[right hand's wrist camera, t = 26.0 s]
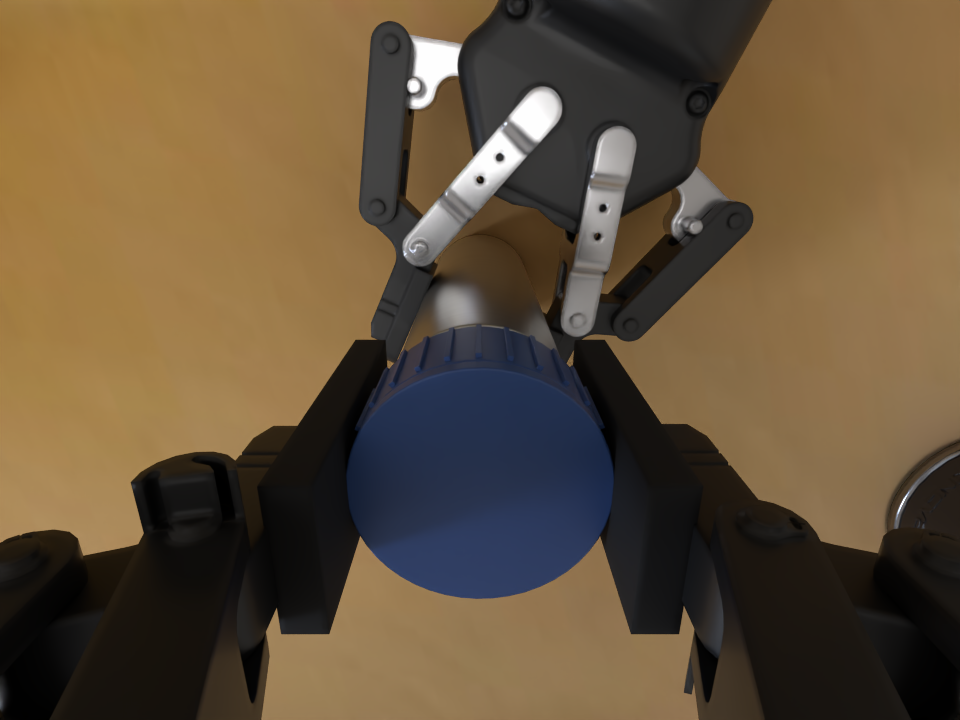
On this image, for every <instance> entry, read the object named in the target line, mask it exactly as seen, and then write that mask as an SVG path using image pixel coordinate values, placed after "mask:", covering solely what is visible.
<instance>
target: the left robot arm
mask: <svg viewBox="0 0 960 720" xmlns="http://www.w3.org/2000/svg"><path fill="white" fill-rule="evenodd" d="M771 1H772V0H498V3H497V5H496V7H495V8H494V10H493V11H492V13H491V14H490V16H489V17H488V18H487V19H486V20H485V21H484V22H483V23H482V24H481V25H480V26H479V27H478V28H476V29H475V30H474V31H473V32H472V33H470V35H469V36H468V37H467V38H466V40H465V41H464V43H463V44H460V43H454V42H448V41H442V40H436V39H430V38H425V37H419V36H413V35H410V34H408V32H407V31H406V29H405V28H404V27H403V26H402V25H400V24H398V23H396V22H393V21H387V22H383V23H381V24H380V25H378V26H377V27H376V28H375V30H374V31H373V33H372V37H371V44H370V58H369V72H368V86H367V100H366V114H365V128H364V142H363V156H362V170H361V184H360V198H359V210H360V213H361V216H362V217H363V219H364V220H365V221H366V222H368V223H369V224H371V225H374V226H376V227H377V228H378V229H379V230H380V231H381V232H382V233H383V234H384V235H386V236H387V237H388V238H389V239H390V240H391V242H392V243H393V245H394V247H395V250H396V263H395V266H394V268H393V271H392V273H391V275H390V278H389V280H388V283H387V285H386V288H385V290H384V293H383V295H382V298H381V300H380V302H379V305H378V307H377V310H376V312H375V315H374V317H373V320H372V322H371V337H373V338H375V339H377V340H386V353H387V360H388V361H391V362H393V363H395V362H396V361H397V359H398V357H399V354H400V352H401V350H402V347H403V345H404V343H405V341H406V338H407V336H408V334H409V331H410V329H411V327H412V325H413V322H414V320H415V318H416V315H417V313H418V311H419V308H420V306H421V303H422V301H423V299H424V296H425V295H426V292H427V290H428V288H429V286H430V283H431V281H432V279H433V276H434V274H435V271H436V269H437V266H438V264H436V263H434V261H435V259H436V257H437V256H438V255H439V254H440V253H441V252H442V251H443V249H444V248H445V247H446V246H447V245H448V244H449V243H450V242H451V240H452V239H453V238H454V237H455V236H456V235H457V234H458V232H459V231H460V230H461V229H462V228H463V227H464V226H465V225H466V224H467V223H468V222H469V221H470V220H471V219H472V218H473V217H474V216H475V215H476V213H477V212H478V211H479V210H480V209H481V208H482V207H483V206H484V204H485V203H486V202H487V201H488V200H489V199H490V198H491V196H492V195H495V196H497V197H499V198H501V199H503V200H505V201H507V202H509V203H511V204H514V205H520V206H526V207H531V208H536V209H538V210H539V211H540V212H541V213H542V214H544V215H545V216H546V217H547V218H548V219H549V220H550V221H552V222H553V223H554V224H555V225H557V226H559V227H561V228H563V232H562V238H561V243H560V261H559V267H558V273H557V279H556V284H555V290H554V296H553V302H552V305H551V307H550V309H549V311H548V313H547V314H545V313H543V315H544V317H545V320H546V322H547V325H548V327H549V330H550V333H551V335H552V338H553V340H554V343H555V345H556V348H557V350H558V353H559V355H560V358H561V359H563V360H564V361H565V362H566V363H567V361H568V359H569V358H570V356H571V354H572V352H573V350H574V343H575V340H582V339H583V338H584V337H586V336H589V335H593V334H601V335H614V336H617V337H618V338H619V339H621V340H623V341H628V342H629V341H635V340H637V339H639V338H640V337H642V336H643V335H644V334H645V333H646V332H647V331H648V330H649V329H650V328H651V327H652V326H653V325H654V324H655V323H656V322H657V321H658V320H659V319H660V318H661V317H662V316H663V315H664V314H665V313H666V312H667V311H668V310H669V309H670V308H671V307H672V306H673V305H674V304H675V303H676V302H677V301H678V300H679V299H680V298H681V297H682V296H683V295H684V294H685V293H686V292H687V291H688V290H689V289H690V288H691V287H692V286H693V285H694V284H695V283H696V282H697V281H698V280H700V279H701V278H702V277H703V276H704V275H705V274H706V273H707V272H708V271H709V270H710V269H711V268H712V267H713V266H714V265H715V264H716V263H717V262H718V261H719V260H720V259H721V258H722V257H723V256H724V255H725V254H726V253H727V252H728V251H729V250H730V249H731V248H732V247H733V246H734V245H735V244H736V243H737V242H738V241H739V240H740V239H741V238H742V237H743V236H744V235H745V234H746V233H747V232H748V231H749V230H750V228H751V226H752V223H753V213H752V210H751V209H750V207H749V206H747V205H746V204H744V203H741V202H736V201H734V200H730V199H728V198H727V197H726V196H725V195H724V194H723V193H722V192H721V191H720V190H719V189H718V188H717V187H716V186H715V185H714V184H713V183H712V182H711V181H710V180H709V179H708V178H707V177H706V176H705V175H704V174H703V172H702V171H701V170H700V169H699V168H698V167H697V164H698V161H699V157H700V147H701V135H702V130H703V126H704V123H705V120H706V118H707V116H708V114H709V112H710V110H711V109H712V107H713V105H714V104H715V102H716V100H717V99H718V97H719V95H720V94H721V92H722V90H723V88H724V87H725V85H726V83H727V81H728V79H729V77H730V76H731V74H732V72H733V70H734V68H735V67H736V65H737V63H738V61H739V59H740V57H741V56H742V54H743V52H744V50H745V48H746V47H747V45H748V43H749V41H750V39H751V37H752V36H753V34H754V32H755V30H756V28H757V27H758V25H759V23H760V21H761V19H762V18H763V16H764V14H765V12H766V10H767V9H768V7H769V5H770V3H771ZM454 79H457V80H459V82H460V88H461V93H462V98H463V103H464V109H465V114H466V119H467V125H468V130H469V135H470V140H471V146H472V151H473V156H474V157H473V159H472V160H471V161H470V162H469V163H468V164H467V166H466V167H465V168H464V169H463V170H462V171H461V173H460V174H459V175H458V176H457V177H456V179H455V180H454V181H453V182H452V183H451V184H450V186H449V187H448V188H447V189H446V190H445V191H444V193H443V194H442V195H441V196H440V197H439V199H438V200H437V201H436V202H435V203H434V205H433V206H432V207H431V208H430V209H429V210H428V212H427V213H426V214H425V215H424V216H423V215H422V214H421V213H420V212H419V211H418V210H417V209H416V208H415V207H414V206H413V205H412V204H411V203H410V202H409V201H408V200H407V199H406V189H407V179H408V169H409V159H410V149H411V139H412V129H413V119H414V111H425V110H428V109H429V108H431V107H432V106H433V105H434V103H435V101H436V99H437V95H438V92H439V89H440V88H441V86H442V85H443V84H444V83H446V82H447V81H450V80H454ZM478 176H479V177H480V179H481V180H479V179H478V178H477V177H478ZM669 191H671V193H672V204H671V207H670V209H669V210H668V212H667V213H666V214H665V216H664V219H663V228H664V231H665V233H666V234H665V236H664V237H663V238H662V239H661V240H660V241H659V242H658V243H657V244H656V245H655V246H654V247H653V248H652V249H651V250H650V251H649V252H648V253H647V254H646V255H645V256H644V257H643V258H642V259H641V260H640V261H639V262H638V263H637V265H636V266H635V267H634V268H633V269H632V270H631V271H630V272H629V273H628V274H627V275H626V276H625V277H624V278H623V279H622V280H621V281H620V282H619V283H618V284H617V285H616V286H615V287H614V288H613V289H612V290H611V291H610V292H609V294H600V293H601V288H602V283H603V279H604V276H605V274H606V273H607V272H608V270H609V267H610V263H611V258H612V253H613V249H614V244H615V239H616V234H617V229H618V224H619V220H620V218H622V217H623V216H625V215H627V214H629V213H631V212H632V211H634V210H636V209H638V208H640V207H642V206H643V205H645V204H647V203H649V202H651V201H652V200H654V199H656V198H658V197H660V196H662V195H663V194H665V193H667V192H669ZM597 233H598V236H597ZM905 527H911V528H920V529H930V530H935V531H939V533H942V532H943V533H946V534H949V535H952V536H954V537H956V538H958V539H959V540H960V442H959V443H956V444H954V445H952V446H950V447H948V448H946V449H944V450H942V451H940V452H939V453H937V454H935V455H934V456H932V457H931V458H929V459H928V460H927V461H925V462H924V463H923V464H922V465H920V466H919V467H918V468H917V469H916V470H915V471H914V472H913V473H912V474H911V475H910V476H909V477H908V479H907V480H906V481H905V482H904V484H903V485H902V486H901V488H900V490H899V491H898V493H897V495H896V497H895V498H894V501H893V503H892V505H891V509H890V512H889V517H888V532H889V531H890V530H892V529H898V528H905Z"/></svg>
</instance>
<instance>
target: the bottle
mask: <svg viewBox="0 0 960 720" xmlns="http://www.w3.org/2000/svg"><path fill="white" fill-rule="evenodd" d="M437 264H438V266H437V269H436V271H435V274H434V276H433V279H432V281H431V283H430V286H429V288H428V290H427V292H426V295H425V296H424V299H423V301H422V303H421V306H420V308H419V311H418V313H417V316H416V318H415V321H414V323H413V326H412V328H411V331H410V334H409V336H408V339H407V341H406V344H405V346H404V349H405V350H406V351H408V350H409V349H411V348H412V347H414V346H415V345H417V344H419V343H420V342H422V341H423V338H424V337H426V336H428V337H429V338H430V337H432V336H435V335H437V334H440V333H443V332H447V331H449V328H452V327H454V329H460V328H466V327H476V324H481V325H482V327H493V328H501V329H504V327H509V330H510V331H514V332H517V333H520V334H523V335H526V336H528V337H529V336H530V335H532V336H535V339H536V341H538V342H540V343H542V344H544V345H545V346H546V347H548V348H549V349H551V350H552V349H553V348H555V349H556V350H557V348H556V345H555V343H554V340H553V338H552V335H551V333H550V330H549V327H548V325H547V322H546V320H545V317H544V315H543V312H542V310H541V307H540V305H539V302H538V300H537V297H536V295H535V292H534V290H533V287H532V285H531V282H530V280H529V277H528V275H527V272H526V270H525V267H524V265H523V262H522V260H521V258H520V257H519V255H518V254H517V252H516V251H515V250H514V249H513V248H512V247H511V246H510V245H509V244H507V243H506V242H504V241H503V240H501V239H498V238H496V237H493V236H488V235H472V236H468V237H465V238H462V239H460V240H458V241H456V242H454V243H453V244H452V245H450V246H449V247H448V248H447V249H446V250H445V252H444V253H443V254H442V256H441V257H440V259H439V261H438V263H437ZM404 349H403V350H404ZM557 351H558V350H557ZM558 354H559V353H558ZM559 356H560V355H559Z"/></svg>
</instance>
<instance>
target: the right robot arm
mask: <svg viewBox="0 0 960 720" xmlns="http://www.w3.org/2000/svg"><path fill="white" fill-rule="evenodd" d="M386 367H387V353H386V340H355V342H354V343H353V345H352V346H351V348H350V349H349V351H348V352H347V354H346V355H345V356H344V358H343V359H342V361H341V362H340V364H339V365H338V367H337V368H336V370H335V371H334V373H333V374H332V376H331V377H330V379H329V380H328V382H327V383H326V385H325V386H324V388H323V389H322V391H321V392H320V394H319V395H318V397H317V398H316V399H315V401H314V402H313V404H312V405H311V407H310V408H309V410H308V411H307V413H306V414H305V416H304V417H303V419H302V420H301V422H300V423H299V425H298V426H273V427H271V428H269V429H268V430H266V431H265V432H263V433H261V434H260V435H258V436H256V437H255V438H253V440H252V441H251V442H250V443H249V445H248V446H247V447H246V448H245V450H244V451H243V452H242V455H240V456H239V457H238V458H237V460H236V461H235V460H234V459H232V458H231V457H230V456H228V455H226V454H222V453H217V452H194V453H189V454H184V455H178V456H175V457H172V458H169V459H166V460H163V461H161V462H158V463H156V464H154V465H152V466H151V467H149V468H147V469H145V470H144V471H142V472H140V473H139V475H138V476H137V477H136V478H135V479H134V480H133V481H132V482H131V485H132V489H133V493H134V497H135V501H136V505H137V508H138V512H139V516H140V520H141V524H142V528H143V532H144V534H143V536H142V538H141V540H140V542H139V544H137V545H133V546H130V547H125V548H120V549H115V550H110V551H105V552H100V553H95V554H90V555H85V556H83V554H82V551H81V547H80V544H79V541H78V538H76V537H75V536H74V535H73V534H71V533H70V532H67V531H60V530H46V531H37V532H30V533H25V534H22V535H21V536H20V535H17V536H14V537H11V538H8V539H6V540H4V541H3V542H1V543H0V720H261V717H262V710H263V702H264V695H265V687H266V679H267V672H268V664H269V648H268V641H267V636H266V630H267V628H268V626H269V624H270V621H271V619H272V617H273V615H274V612H275V610H276V608H277V611H278V617H279V623H280V629H281V634H329V633H330V630H331V627H332V624H333V620H334V617H335V614H336V611H337V608H338V605H339V601H340V598H341V595H342V592H343V589H344V586H345V582H346V579H347V576H348V573H349V570H350V567H351V563H352V560H353V557H354V554H355V551H356V547H357V544H358V541H359V538H360V534H359V533H358V531H357V529H356V526H355V524H354V522H353V520H352V517H351V514H350V510H349V501H348V491H347V480H346V468H347V462H348V457H349V454H350V451H351V448H352V445H353V443H354V440H355V438H356V436H357V434H358V431H356V430H354V429H355V427H356V425H357V423H358V420H359V418H360V416H361V414H362V412H363V409H364V407H365V405H366V403H367V401H368V399H369V396H370V394H371V392H372V390H373V388H375V389H376V387H377V385H378V382H379V380H380V378H381V376H382V373H383V371H384V370H385V368H386ZM573 367H574V368H575V369H576V372H577V374H578V376H579V378H580V381H581V383H582V385H583V387H585V386H586V387H587V389H588V391H589V393H590V396H591V398H592V400H593V402H594V404H595V406H596V409H597V411H598V413H599V415H600V417H601V419H602V422H603V424H604V426H605V428H603V429H601V431H602V433H603V435H604V438H605V440H606V442H607V445H608V447H609V449H610V453H611V457H612V461H613V465H614V484H613V495H612V504H611V512H610V515H609V518H608V520H607V523H606V526H605V527H604V529H603V531H602V533H601V535H600V537H601V540H602V543H603V546H604V550H605V553H606V556H607V559H608V562H609V565H610V569H611V572H612V575H613V578H614V581H615V585H616V588H617V591H618V594H619V597H620V600H621V604H622V607H623V610H624V613H625V616H626V619H627V623H628V626H629V629H630V632H631V634H679V631H680V625H681V619H682V613H683V607H685V609H686V611H687V613H688V615H689V618H690V620H691V622H692V624H693V626H694V629H695V630H694V636H693V641H692V647H691V652H690V658H689V664H688V669H687V675H686V681H685V688H684V693H688V694H692V690H693V684H694V686H695V693H696V701H697V708H698V716H699V720H960V540H959V539H958V538H956V537H954V536H952V535H949V534H946V533H943V532H942V533H939V531H935V530H930V529H920V528H911V527H905V528H898V529H892V530H890V531H889V532H888V533H887V534H885V535H884V536H883V539H882V542H881V546H880V549H879V552H878V553H873V552H868V551H863V550H858V549H853V548H848V547H843V546H838V545H833V544H829V543H825V542H821V541H820V539H819V537H818V535H817V533H816V532H815V531H814V529H813V528H812V527H811V526H810V524H809V523H808V522H807V521H806V520H804V519H803V518H801V517H800V516H798V515H797V514H796V513H794V512H793V511H791V510H788V509H786V508H784V507H781V506H779V505H776V504H774V503H770V502H766V501H761V500H758V499H757V497H756V496H755V495H754V494H753V493H752V491H751V490H750V489H749V488H748V486H747V485H746V484H745V483H744V481H743V480H742V479H741V478H740V476H739V475H738V474H737V473H736V471H735V470H734V469H733V468H732V467H731V465H728V462H727V460H726V459H725V458H724V457H723V455H722V454H721V453H719V450H718V449H717V448H716V447H715V446H714V444H713V443H712V442H711V441H710V439H709V438H708V437H707V436H706V435H704V434H702V433H701V432H699V431H697V430H696V429H694V428H693V427H691V426H689V425H688V424H661V423H660V421H659V420H658V418H657V417H656V415H655V414H654V412H653V411H652V409H651V408H650V406H649V405H648V403H647V402H646V400H645V399H644V397H643V396H642V394H641V393H640V392H639V390H638V389H637V387H636V386H635V384H634V383H633V381H632V380H631V378H630V377H629V375H628V374H627V372H626V371H625V369H624V368H623V366H622V365H621V363H620V362H619V360H618V359H617V357H616V356H615V355H614V353H613V352H612V350H611V349H610V347H609V346H608V344H607V343H606V341H605V340H575V343H574V358H573Z"/></svg>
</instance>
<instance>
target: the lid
mask: <svg viewBox="0 0 960 720" xmlns="http://www.w3.org/2000/svg"><path fill="white" fill-rule="evenodd" d="M603 428H605V426H604V424H603V422H602V419H601V417H600V415H599V413H598V411H597V409H596V406H595V404H594V402H593V400H592V398H591V396H590V393H589V391H588V389H587V387H586V386H585V387H583V385H582V383H581V381H580V378H579V376H578V374H577V372H576V369H575V368H574V367H573V365H572V366H571V367H569V366H568V365H567V364H566V362H565V361H564V360H563V359H561V358H560V356H559V354H558V351H557V350H556V349H555V348H553V349H552V350H551V349H549V348H548V347H546V346H545V345H544V344H542V343H540V342H538V341H536V339H535V336H532V335H530V336H529V337H528V336H526V335H523V334H520V333H517V332H514V331H510V330H509V327H504V329H501V328H493V327H482V325H481V324H476V327H466V328H460V329H454V327H452V328H449V331H447V332H443V333H440V334H437V335H435V336H432V337H430V338H429V337H428V336H426V337H424V338H423V341H422V342H420V343H419V344H417V345H415V346H414V347H412V348H411V349H409V350H408V351H406V350H405V349H404V350H403V351H402V352H401V354H400V357H399V359H398V360H397V361H396V362H395V363H394V364H393V365H392V366H391V367H390V369H389V368H387V367H386V368H385V370H384V371H383V373H382V376H381V378H380V380H379V382H378V385H377V387H376V389H375V388H373V390H372V392H371V394H370V396H369V399H368V401H367V403H366V405H365V407H364V409H363V412H362V414H361V416H360V418H359V420H358V423H357V425H356V427H355V429H354V430H356V431H358V434H357V436H356V438H355V440H354V443H353V445H352V448H351V451H350V454H349V457H348V462H347V468H346V480H347V491H348V501H349V510H350V514H351V517H352V520H353V522H354V524H355V526H356V529H357V531H358V533H359V534H360V536H361V537H362V539H363V541H364V542H365V544H366V545H367V546H368V548H369V549H370V550H371V551H372V552H373V553H374V555H375V556H376V557H377V558H378V559H379V560H380V561H381V562H383V563H384V564H385V565H386V566H387V567H388V568H389V569H391V570H392V571H394V572H395V573H397V574H398V575H399V576H401V577H403V578H404V579H406V580H408V581H410V582H412V583H414V584H416V585H418V586H420V587H423V588H425V589H428V590H430V591H434V592H437V593H441V594H444V595H450V596H455V597H461V598H475V599H482V598H498V597H506V596H511V595H515V594H519V593H524V592H527V591H530V590H532V589H535V588H538V587H540V586H542V585H545V584H547V583H549V582H551V581H553V580H555V579H556V578H558V577H559V576H561V575H562V574H564V573H566V572H567V571H568V570H570V569H571V568H572V567H573V566H574V565H576V564H577V563H578V562H579V561H580V560H581V559H582V558H583V557H584V556H585V555H586V554H587V553H588V552H589V551H590V549H591V548H592V547H593V545H594V544H595V543H596V541H597V540H598V539H599V537H600V535H601V533H602V531H603V529H604V527H605V526H606V523H607V520H608V518H609V515H610V512H611V504H612V495H613V484H614V465H613V461H612V457H611V453H610V449H609V447H608V445H607V442H606V440H605V438H604V435H603V433H602V431H601V429H603Z"/></svg>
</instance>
